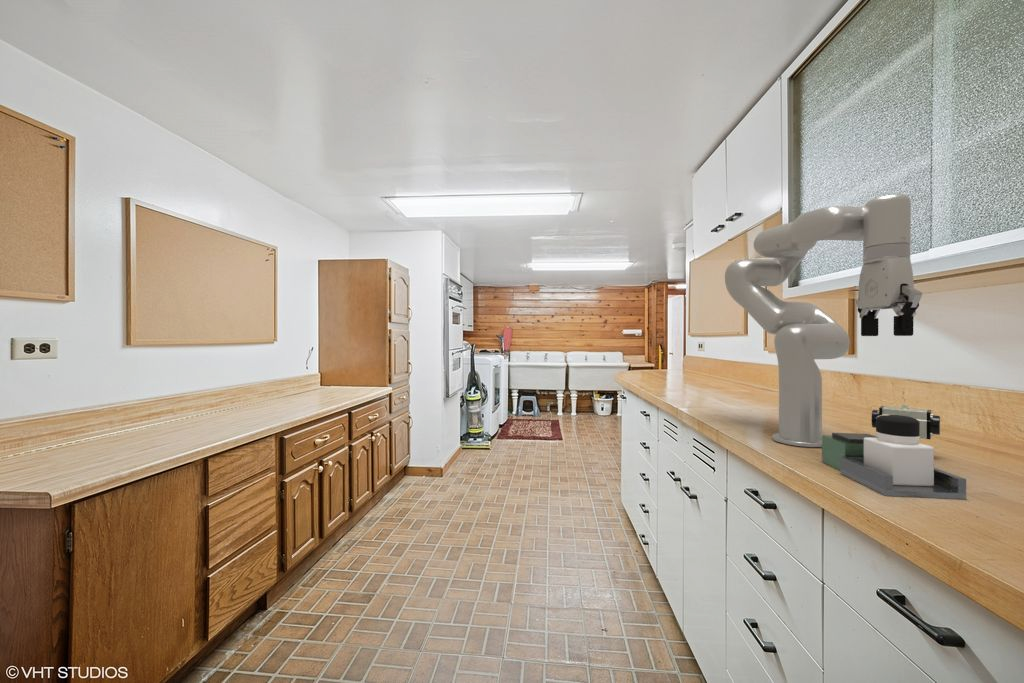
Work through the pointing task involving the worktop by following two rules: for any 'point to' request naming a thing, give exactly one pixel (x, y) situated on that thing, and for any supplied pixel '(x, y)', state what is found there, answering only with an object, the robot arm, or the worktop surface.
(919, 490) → the grey and green bracket
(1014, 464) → the worktop surface
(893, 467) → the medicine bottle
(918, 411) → the pneumatic valve
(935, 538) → the worktop surface
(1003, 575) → the worktop surface
